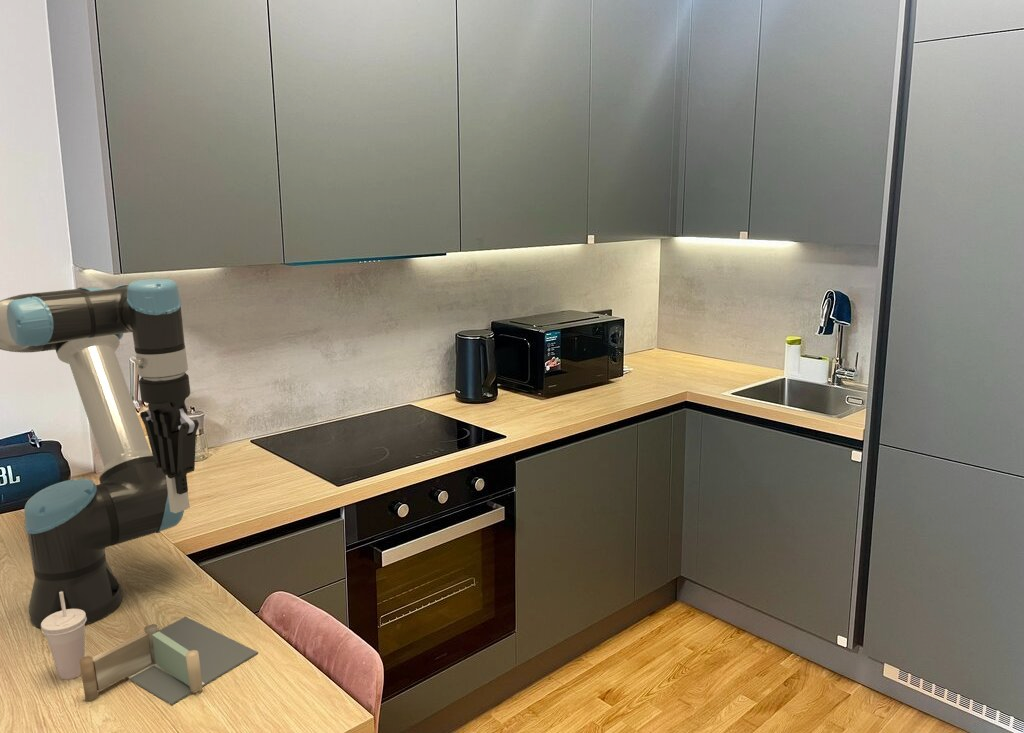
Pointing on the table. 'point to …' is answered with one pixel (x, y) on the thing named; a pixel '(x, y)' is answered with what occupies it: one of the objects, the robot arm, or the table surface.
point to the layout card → (213, 656)
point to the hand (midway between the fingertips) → (180, 509)
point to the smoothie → (66, 639)
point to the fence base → (117, 662)
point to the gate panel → (178, 661)
